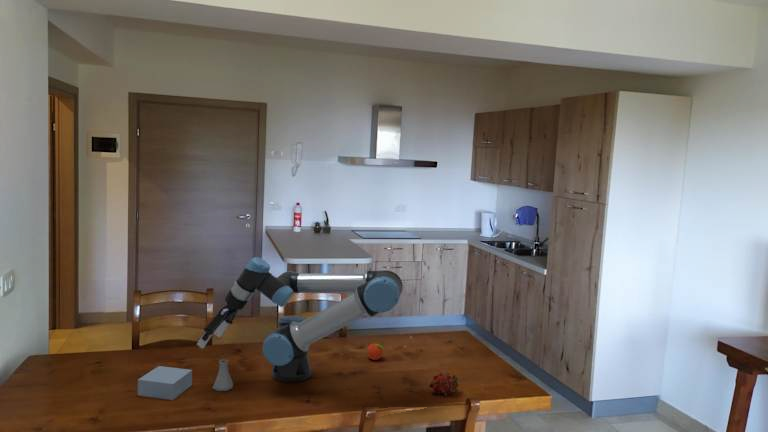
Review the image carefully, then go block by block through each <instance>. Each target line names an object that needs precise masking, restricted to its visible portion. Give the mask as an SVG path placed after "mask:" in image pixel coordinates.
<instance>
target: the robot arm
mask: <svg viewBox="0 0 768 432" xmlns="http://www.w3.org/2000/svg"><path fill="white" fill-rule="evenodd" d="M270 269H271V265H270V264H269V263H268V262H267V261H266V260H264V259H263V258H261V257H259V256H257V257H256V256H255V257H252V258H251V259H250V261H249V262H248V263H247V265H245V267H244V268H243V271H242V272H241V273H240V275H239V277H238V278H237V280H234V281H233V284H234V285H233V286H232V287H231V289H230V290H229V292H228V293H227V294H226V296H225V297H224V301H225V303H226V305H224V306H223V307H221V308H220V310H219V311H218V313H217V314H216V315H215V316H214V317H213V319H212V320H211V321H210V323H209V324H208V325H207V326H206V327H204V328H203V331H204V333H203V334H202V335H201V337H200V339H199V340H198V342H197V343H196V345H197V346H198V347H199V348H200V349H202V350H203V349H205V347H206V345H207V344H208V342H209V340H210V339H211V338H212V336H213V334H214V335H215V336H217V337H218V338H221V336H222V335H223V333H224V332H225V331H226V329H227V328H228V326H229V325H232V324H233V323H234V320H235V319H236V318H235V317H236V315H237V313H238V312H239V311H241V310H243V309H244V308H245V306H246V305H247V303H248V301H249V300H251V298H252V296H253V295H254V293H255V291H256V290H257V291H258V292H259V293H261V294H262V295H263V296H264V297H266V298H267V299H269V300H270V301H271V302H272V303H273V304H275V305H277V306H278V307H281V308H283V307H284V306H285V305H286V304H287V303H288V302H289V301H290V300H291V298H292V297H293V295H294V294H348V295H349V294H351V295H349V296H347V297H345V298H344V299H341V300H339V301H338V302H336V303H334V304H332V305H329V306H328V307H327V308H324V309H323V310H321V311H319V312H317V313H315V314H313V315H311V316H310V317H308V318H307V317H305V316H300V315H299V316H298V315H283V316H281V317H279V318H278V322H277V327H276V329H275V330H274V331H272V332H271V333H270V334H268V335H267V336H266V338H265V339H264V341H263V343H262V353H263V355H264V358H265V360H267V362H268V363H270V364H272V365H273V366H272V368H271V377H272V378H273V379H274V380H276V381H280V382H283V383H298V382H299V383H300V382H303V381H306V380H308V379H310V378H311V376H312V367H311V363H310V360H309V357H308V351H309V348H310V345H312V344H314V343H315V342H318V341H320V340H321V339H323V338H325V337H327V336H329V335H331V334H333V333H335V332H336V331H338V330H340V329H342V328H345V327H346V326H347V325H350V324H352V323H353V322H355V321H357V320H360V319H361V318H363V317H365V316H367V317H371V318H372V317H375V316H376V315H378V314H383V313H387V312H389V311H391V310H393V309H394V308H395V307H396V306H397V304H398V303H399V302H400V301H399V300H400V297H401V294H402V292H403V281H402V279H401V277H400V276H399V275H398V274H397V273H396V272H394V271H392V270H387V269H386V270H385V269H384V270H366V271H365V272H364V273H347V272H346V273H340V272H339V273H336V272H335V273H332V272H331V273H323V272H322V273H309V272H308V273H307V272H306V273H305V272H304V273H302V272H299V273H298V272H297V273H296V272H295V271H289V270H288V271H285V272H283V273H281V274H280V275H279V276H277V277H276V276H274V275H273V274H272V273H271V272H270Z"/></svg>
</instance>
